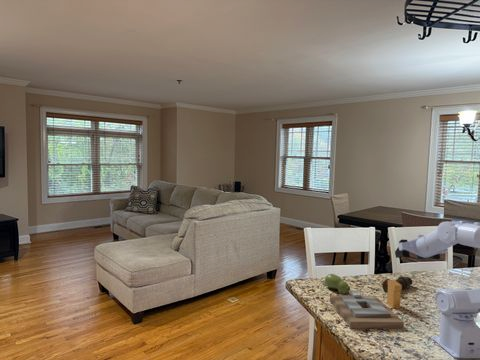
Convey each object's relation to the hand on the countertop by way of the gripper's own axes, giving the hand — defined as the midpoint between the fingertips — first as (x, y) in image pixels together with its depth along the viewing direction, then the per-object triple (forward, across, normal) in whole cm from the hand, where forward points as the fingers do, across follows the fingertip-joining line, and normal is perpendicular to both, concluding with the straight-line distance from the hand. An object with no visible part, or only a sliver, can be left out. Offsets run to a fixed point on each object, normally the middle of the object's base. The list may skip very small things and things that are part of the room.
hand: (407, 255), depth 108 cm
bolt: (+23, -9, +7) cm, 25 cm away
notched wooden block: (+12, +2, +14) cm, 18 cm away
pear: (+23, +16, +8) cm, 29 cm away
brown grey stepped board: (+7, +15, +18) cm, 24 cm away
